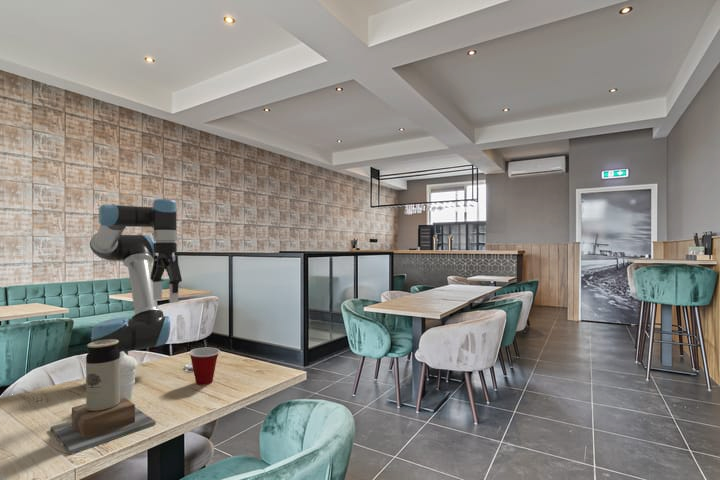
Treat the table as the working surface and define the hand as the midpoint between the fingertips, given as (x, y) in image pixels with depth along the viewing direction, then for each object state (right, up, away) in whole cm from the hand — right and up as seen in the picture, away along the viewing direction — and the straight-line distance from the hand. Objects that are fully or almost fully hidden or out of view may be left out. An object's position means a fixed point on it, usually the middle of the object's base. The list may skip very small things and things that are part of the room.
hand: (165, 300), depth 137 cm
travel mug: (-3, -26, -29) cm, 39 cm away
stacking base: (-3, -31, -29) cm, 43 cm away
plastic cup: (+12, -32, +5) cm, 34 cm away
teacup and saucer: (+1, -33, +25) cm, 41 cm away
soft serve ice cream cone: (-9, -32, -9) cm, 35 cm away
